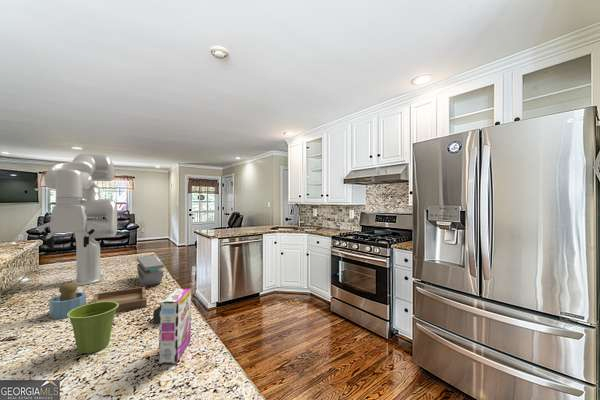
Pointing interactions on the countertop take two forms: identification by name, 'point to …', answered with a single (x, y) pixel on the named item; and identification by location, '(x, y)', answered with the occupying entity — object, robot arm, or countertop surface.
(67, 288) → the olive brown bulbous cylinder
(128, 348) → the countertop surface
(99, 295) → the tray
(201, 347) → the countertop surface
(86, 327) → the plant pot
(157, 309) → the smart speaker
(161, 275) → the grey lidded box
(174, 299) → the candy bar box
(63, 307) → the blue hollow cylinder
